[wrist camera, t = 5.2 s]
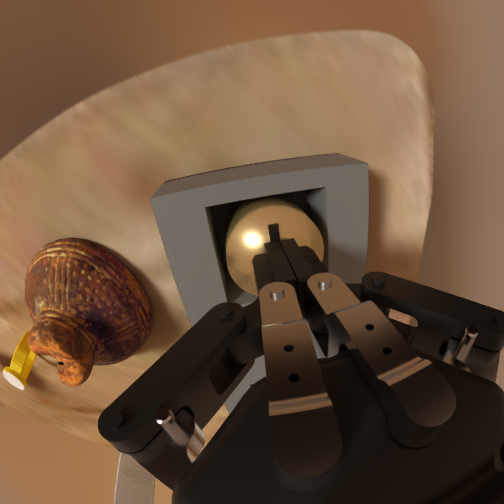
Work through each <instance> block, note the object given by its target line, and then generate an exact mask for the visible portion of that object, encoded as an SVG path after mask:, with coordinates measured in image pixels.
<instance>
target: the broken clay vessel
mask: <svg viewBox="0 0 504 504" xmlns="http://www.w3.org/2000/svg"><path fill="white" fill-rule="evenodd" d="M64 241H65V242H64ZM53 254H54V255H53ZM89 271H90V272H89ZM37 277H38V278H37ZM85 282H86V283H85ZM58 292H59V293H58ZM119 293H120V294H119ZM25 302H26V306H27V308H28V311H29V314H30V317H31V319H32V321H33V322H34V326H33V328H32V329H31V331H30V333H29V335H28V337H27V341H28V345H29V348H30V350H31V351H32V352H33V353H35V354H36V355H41V354H43V355H49V356H52V357H54V358H56V359H58V360H60V361H61V363H60V362H59V363H57V374H58V377H59V379H60V380H61V382H62V383H64V384H66V385H70V386H79V385H81V384H82V383H84V382H85V381H86V380H87V379H88V377H89V376H90V373H91V370H92V367H93V366H94V365H110V364H115V363H119V362H121V361H123V360H126V359H128V358H129V357H131V356H132V355H134V354H135V353H136V352H137V351H138V350H139V349H140V348H141V347H142V345H143V344H144V343H145V341H146V339H147V337H148V335H149V333H150V330H151V324H152V314H151V309H150V304H149V301H148V298H147V296H146V294H145V293H144V292H143V289H142V287H141V285H140V283H139V282H138V280H137V279H136V278H135V277H134V275H133V274H132V273H131V272H130V271H129V270H128V269H127V268H126V267H125V266H124V265H123V264H122V263H121V262H120V261H119V260H118V259H117V258H115V257H114V256H113V255H112V254H110V253H109V252H107V251H106V250H105V249H103V248H102V247H100V246H98V245H96V244H94V243H91V242H88V241H86V240H81V239H76V238H67V239H59V240H56V241H54V242H51V243H48V244H46V245H45V246H44V247H43V248H42V249H41V250H40V251H39V252H38V253H37V254H36V255H35V257H34V258H33V259H32V261H31V263H30V266H29V268H28V270H27V274H26V279H25ZM52 304H53V305H52ZM142 304H143V305H142ZM106 309H107V310H106ZM48 318H49V319H48ZM64 319H65V320H64ZM90 323H91V324H90ZM124 325H125V326H124ZM135 327H136V328H135ZM72 333H73V334H72ZM130 333H131V334H130Z"/></svg>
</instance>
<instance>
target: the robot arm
mask: <svg viewBox="0 0 504 504" xmlns="http://www.w3.org/2000/svg"><path fill="white" fill-rule="evenodd" d="M263 245H264V253H263V254H257V255H255V256H254V258H253V260H252V264H253V270H254V276H255V282H256V287H257V292H258V298H257V299H256V300H255V301H254V302H253V303H251V304H249V305H247V306H245V307H242V306H241V305H240V304H238V303H235V302H224V303H220V304H218V305H216V306H214V307H213V308H211V309H210V310H209V311H208V312H207V313H206V314H205V315H204V316H203V317H202V318H201V319H200V320H199V321H198V322H197V323H196V324H195V325H194V326H193V327H192V328H191V329H190V330H188V331H187V332H186V333H185V334H184V335H183V336H182V337H181V338H180V339H179V340H178V341H177V342H176V343H175V344H174V345H173V346H172V347H171V348H170V349H169V350H168V351H167V352H166V353H164V354H163V355H162V356H161V357H160V358H159V359H158V360H157V361H156V362H155V363H154V364H153V365H152V366H151V367H150V368H149V369H148V370H147V371H146V372H144V373H143V374H142V375H141V376H140V377H139V378H138V379H137V380H136V381H135V382H134V383H133V384H132V385H131V386H130V387H129V388H127V389H126V390H125V391H124V392H123V393H122V394H121V395H120V396H119V397H118V398H117V399H116V400H115V401H114V402H113V403H111V404H110V405H109V406H108V407H107V408H106V409H105V410H104V411H103V412H102V414H101V415H100V417H99V420H98V430H99V432H100V434H101V435H102V436H103V438H105V439H106V440H107V441H108V442H110V443H111V444H112V445H113V446H114V447H115V448H116V449H117V450H118V451H120V452H121V453H122V454H124V455H125V456H126V457H128V458H129V459H131V460H132V461H133V462H135V463H137V464H139V465H141V466H142V467H144V468H145V469H146V470H147V471H148V472H150V473H151V474H152V475H153V476H154V477H156V478H157V479H158V480H160V481H161V482H162V483H163V484H165V485H166V486H167V487H169V488H170V489H171V490H173V494H172V504H504V392H503V390H502V389H501V388H500V387H499V386H498V385H497V384H496V383H495V381H496V375H497V370H498V364H499V357H500V352H501V351H502V349H503V347H504V312H503V311H500V310H497V309H494V308H491V307H489V306H485V305H482V304H480V303H477V302H474V301H471V300H468V299H465V298H462V297H458V296H455V295H452V294H449V293H446V292H443V291H440V290H437V289H434V288H431V287H428V286H424V285H421V284H418V283H415V282H412V281H409V280H406V279H402V278H399V277H396V276H393V275H390V274H386V273H383V272H370V273H367V274H366V275H364V276H363V278H362V282H361V283H354V284H349V283H344V282H343V281H342V280H341V279H340V277H338V276H337V275H335V274H332V273H328V271H327V270H326V268H325V267H324V265H323V264H322V262H321V261H320V259H319V258H318V256H317V255H316V253H315V252H314V250H313V249H311V248H309V247H308V246H306V245H305V246H300V247H299V246H298V244H297V242H296V241H295V239H294V238H290V239H284V240H279V241H274V242H268V243H264V244H263ZM390 308H391V309H394V310H396V311H399V312H402V313H405V314H408V315H410V316H413V317H414V318H416V320H417V322H418V327H413V326H410V325H407V324H405V323H402V322H399V321H397V320H394V319H391V318H388V316H389V311H390ZM307 322H308V323H307ZM308 324H309V327H308ZM313 343H314V344H313ZM314 345H315V347H316V349H317V351H318V353H319V355H320V357H321V358H317V355H316V351H315V348H314ZM263 355H264V359H265V369H266V377H264V378H262V379H260V380H259V381H257V382H256V383H255V384H254V385H252V386H251V387H250V388H249V389H248V390H247V391H246V392H245V394H244V395H243V396H242V398H241V399H240V400H239V402H238V403H237V405H236V406H235V408H234V409H233V410H232V412H231V413H230V414H229V416H228V417H227V419H226V420H225V421H224V423H223V424H222V425H221V427H220V428H219V429H218V431H217V432H216V433H215V435H214V436H213V437H212V439H211V440H210V441H209V443H208V444H207V445H206V447H205V448H204V449H203V450H202V448H203V446H204V444H205V435H204V433H203V431H202V429H203V428H204V427H205V426H206V424H207V423H208V422H209V421H210V420H211V418H212V417H213V416H214V415H215V414H216V412H217V411H218V410H219V409H220V407H221V406H222V405H223V404H224V403H225V401H226V400H227V399H228V398H229V396H230V395H231V394H232V392H233V391H234V390H235V389H236V387H237V386H238V385H239V384H240V382H241V381H242V380H243V378H244V377H245V376H246V374H247V373H248V372H249V370H250V369H251V368H252V366H253V365H254V362H255V359H256V358H258V357H260V356H263ZM201 450H202V452H201V453H200V451H201Z"/></svg>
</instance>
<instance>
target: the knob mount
mask: <svg viewBox="0 0 504 504" xmlns="http://www.w3.org/2000/svg"><path fill="white" fill-rule="evenodd" d="M281 193H284V194H286V195H287V196H289V197H290V198H291V199H292V200H293V201H294V202H295V203H296V204H297V205H298V206H299V207H300V208H301V209H302V210H303V212H304V213H305V214H306V215H307V216H308V217H309V218H310V219H311V220H312V222H313V223H314V224H315V225H316V226H317V228H318V229H319V231H320V233H321V236H322V239H323V243H324V255H323V260H322V264H323V265H324V267H325V268H326V270H327V271H328V273H332V274H335V275H337V276H338V277H340V279H341V280H342V281H343V282H344V283H349V284H354V283H361V282H362V278H363V276H364V275H366V263H367V247H368V221H369V180H368V163H366V162H363V161H360V160H357V159H354V158H351V157H348V156H345V155H341V154H338V153H335V154H324V155H315V156H306V157H297V158H289V159H282V160H275V161H268V162H261V163H255V164H249V165H243V166H237V167H231V168H226V169H220V170H215V171H210V172H205V173H200V174H196V175H191V176H186V177H182V178H177V179H173V180H169V181H165V182H164V183H163V184H162V186H161V187H160V188H159V189H158V190H157V191H156V192H155V194H154V195H153V196H152V197H151V198H150V200H151V204H152V207H153V211H154V215H155V218H156V222H157V225H158V229H159V232H160V235H161V239H162V242H163V245H164V248H165V252H166V255H167V258H168V261H169V264H170V267H171V270H172V273H173V276H174V279H175V282H176V285H177V288H178V291H179V294H180V296H181V299H182V302H183V305H184V307H185V310H186V313H187V316H188V318H189V321H190V323H191V326H192V327H193V326H194V325H195V324H196V323H197V322H198V321H199V320H200V319H201V318H202V317H203V316H204V315H205V314H206V313H207V312H208V311H209V310H210V309H211V308H213V307H214V306H216V305H218V304H220V303H224V302H235V303H238V304H240V305H241V306H242V307H245V306H247V305H249V304H251V303H253V302H254V301H255V300H256V299H257V298H258V296H255V295H252V294H250V293H248V292H246V291H244V290H243V289H242V288H240V287H239V286H238V285H237V284H236V283H235V282H234V280H233V279H232V277H231V275H230V273H229V270H228V267H227V261H226V247H225V232H224V225H225V219H226V216H227V214H228V211H229V210H230V208H231V206H232V205H233V204H234V203H235V202H236V201H240V200H246V199H251V198H257V197H263V196H269V195H275V194H281ZM307 323H308V322H307ZM308 327H309V324H308ZM313 344H314V343H313ZM314 348H315V351H316V355H317V358H321V357H320V355H319V353H318V351H317V349H316V347H315V345H314ZM264 377H266V369H265V359H264V355H263V356H260V357H258V358H256V359H255V362H254V365H253V366H252V368H251V369H250V370H249V372H248V373H247V374H246V376H245V377H244V378H243V380H242V381H241V382H240V384H239V385H238V386H237V387H236V389H235V390H234V391H233V392H232V394H231V395H230V396H229V398H228V399H227V400H226V401H225V406H226V408H227V410H228V412H229V414H230V413H231V412H232V410H233V409H234V408H235V406H236V405H237V403H238V402H239V400H240V399H241V398H242V396H243V395H244V394H245V392H246V391H247V390H248V389H249V388H250V387H251V386H252V385H254V384H255V383H256V382H257V381H259V380H260V379H262V378H264Z"/></svg>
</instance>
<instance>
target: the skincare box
mask: <svg viewBox="0 0 504 504" xmlns="http://www.w3.org/2000/svg"><path fill="white" fill-rule="evenodd" d="M154 488H155V477H154V476H153V475H152V474H151V473H150V472H148V471H147V470H146V469H145V468H144V467H142V466H141V465H139V464H137V463H135V462H133V461H132V460H131V459H129V458H128V457H126V456H125V455H124V454H122V453H121V452H120V458H119V464H118V471H117V478H116V486H115V496H114V504H153V503H154Z"/></svg>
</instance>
